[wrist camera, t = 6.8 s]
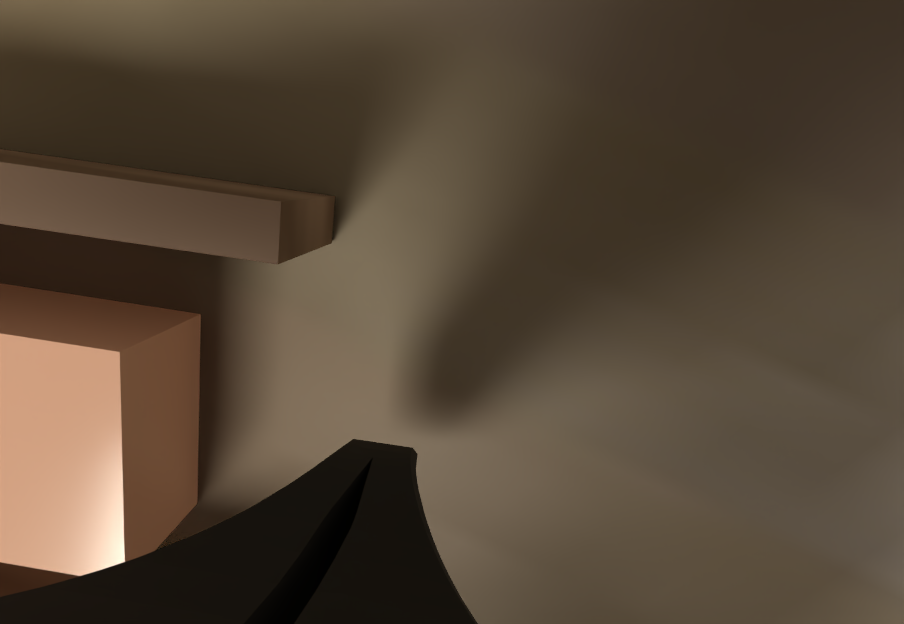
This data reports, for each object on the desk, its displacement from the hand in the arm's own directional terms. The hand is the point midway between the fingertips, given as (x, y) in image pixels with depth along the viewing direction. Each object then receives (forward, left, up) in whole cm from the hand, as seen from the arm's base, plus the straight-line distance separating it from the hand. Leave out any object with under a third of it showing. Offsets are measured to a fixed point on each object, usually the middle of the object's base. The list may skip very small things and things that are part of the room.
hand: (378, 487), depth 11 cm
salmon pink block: (0, +8, -2) cm, 8 cm away
